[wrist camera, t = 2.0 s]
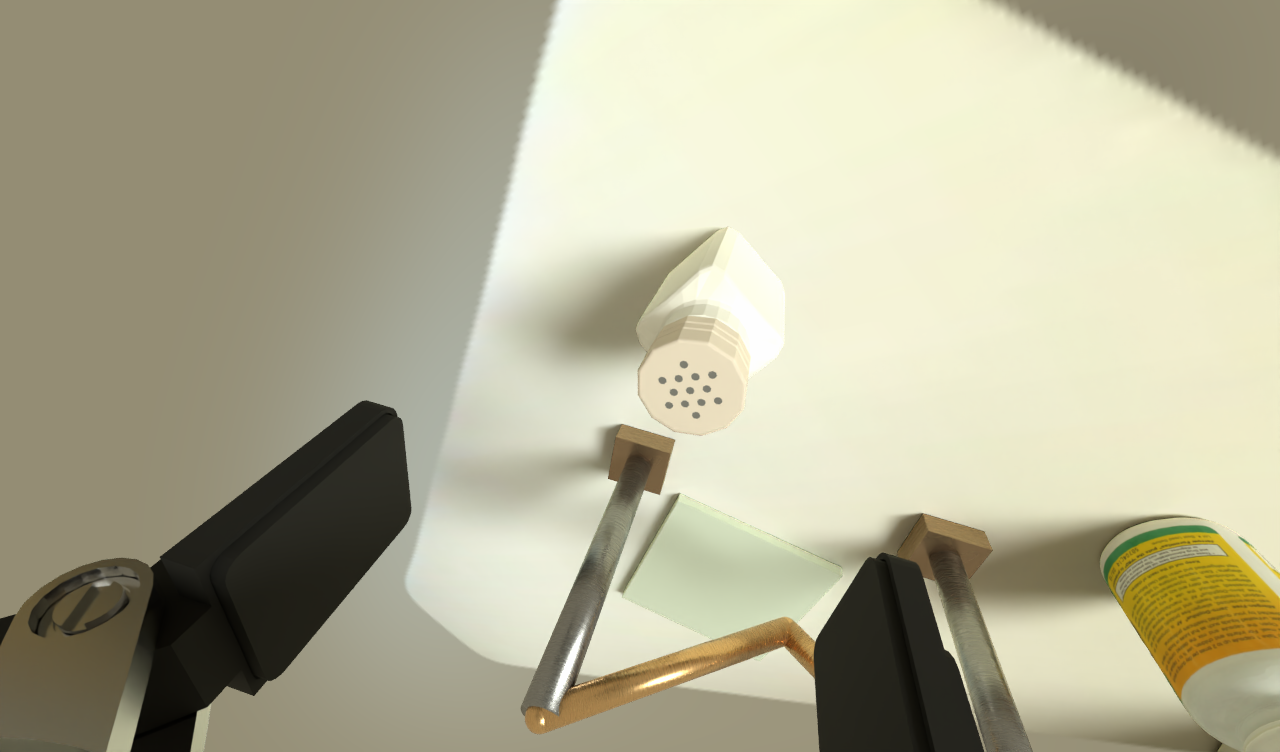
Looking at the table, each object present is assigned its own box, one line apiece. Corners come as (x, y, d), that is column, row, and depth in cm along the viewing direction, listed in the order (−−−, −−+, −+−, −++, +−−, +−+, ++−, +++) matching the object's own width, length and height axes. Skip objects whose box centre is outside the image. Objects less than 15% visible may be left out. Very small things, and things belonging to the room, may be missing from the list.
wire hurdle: (984, 531, 25) (1169, 946, 13) (954, 569, 27) (1095, 972, 15) (621, 424, 28) (491, 691, 15) (614, 465, 29) (489, 737, 17)
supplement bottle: (1278, 537, 22) (1565, 800, 14) (1182, 609, 25) (1375, 863, 17) (1146, 496, 22) (1349, 727, 14) (1068, 572, 25) (1200, 800, 17)
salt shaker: (719, 340, 24) (685, 468, 16) (662, 277, 23) (595, 378, 15) (790, 288, 22) (792, 403, 14) (730, 217, 21) (695, 296, 13)
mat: (841, 567, 29) (842, 576, 28) (760, 653, 34) (759, 661, 34) (680, 493, 29) (678, 500, 29) (624, 589, 34) (622, 597, 34)
